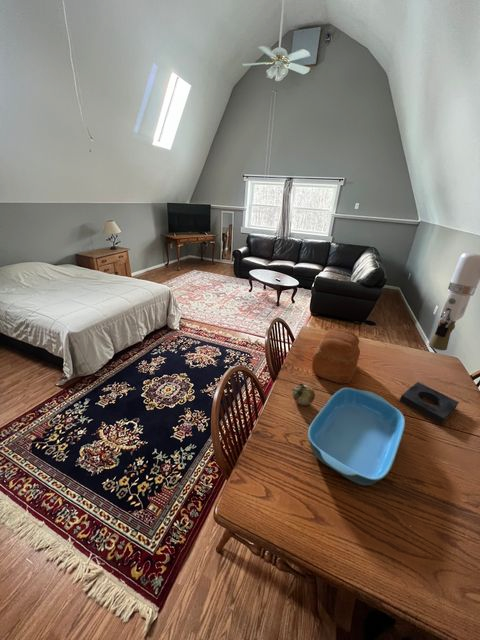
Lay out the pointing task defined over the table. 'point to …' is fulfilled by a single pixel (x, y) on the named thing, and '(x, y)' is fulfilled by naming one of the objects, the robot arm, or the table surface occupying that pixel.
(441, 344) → the cork
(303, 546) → the table surface
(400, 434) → the casserole dish
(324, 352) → the bread
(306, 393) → the onion
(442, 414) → the socket pad
